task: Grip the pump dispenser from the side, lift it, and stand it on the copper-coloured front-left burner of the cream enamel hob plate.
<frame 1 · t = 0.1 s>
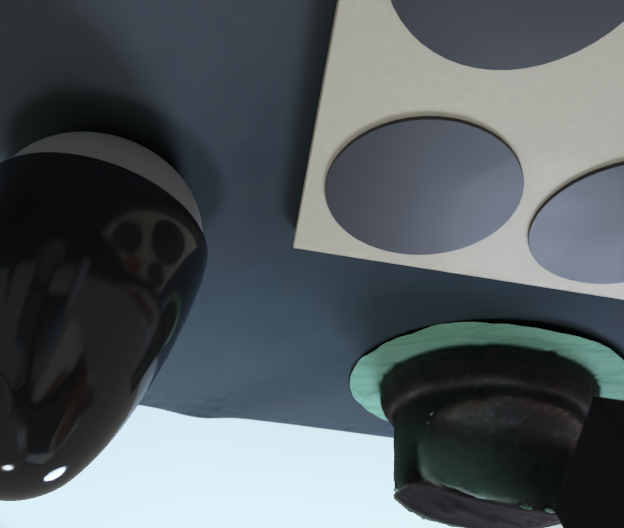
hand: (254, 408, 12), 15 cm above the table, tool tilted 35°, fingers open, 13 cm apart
hob plate: (582, 94, 23), on the table
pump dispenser: (119, 173, 29), on the table
black green hat: (483, 386, 44), on the table
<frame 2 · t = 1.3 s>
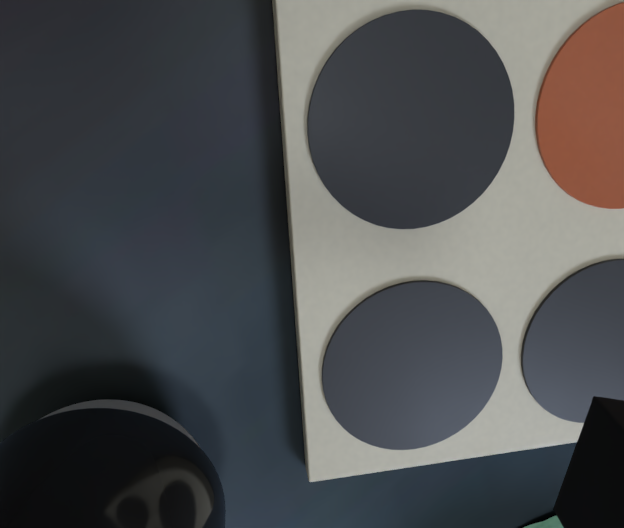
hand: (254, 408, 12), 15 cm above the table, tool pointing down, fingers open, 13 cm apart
hob plate: (504, 236, 27), on the table
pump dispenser: (114, 457, 28), on the table
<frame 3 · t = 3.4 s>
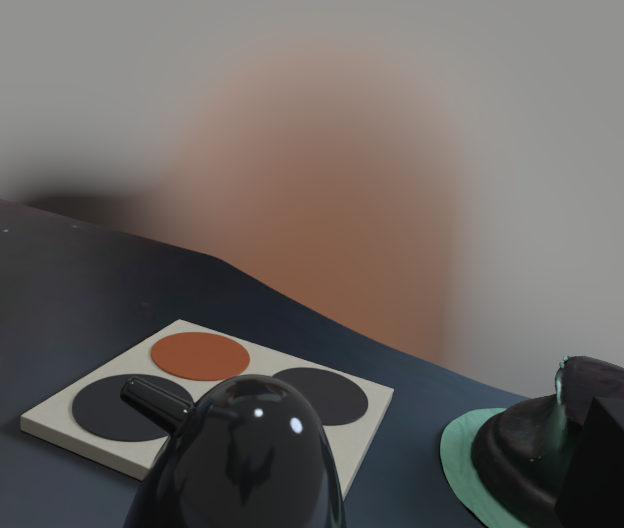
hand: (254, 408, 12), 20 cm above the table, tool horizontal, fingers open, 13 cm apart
hob plate: (229, 413, 47), on the table
black green hat: (569, 489, 45), on the table
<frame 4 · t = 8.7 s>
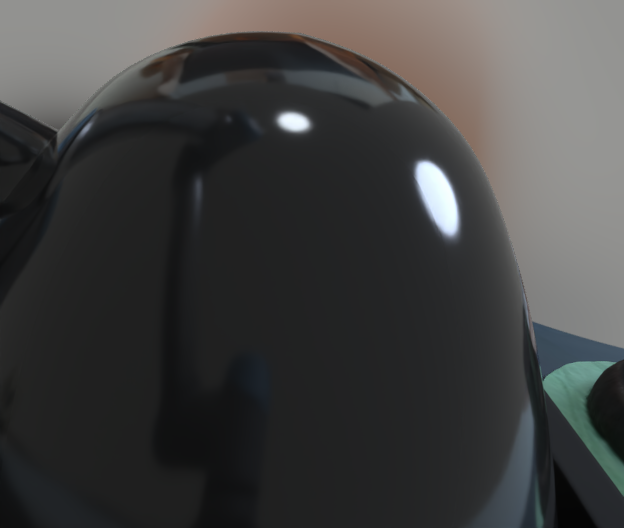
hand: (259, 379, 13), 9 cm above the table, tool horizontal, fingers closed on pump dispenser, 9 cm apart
when the fingers open (10 cm above the table, at t = 16.9 s): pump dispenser stays where it is, resting on hob plate.
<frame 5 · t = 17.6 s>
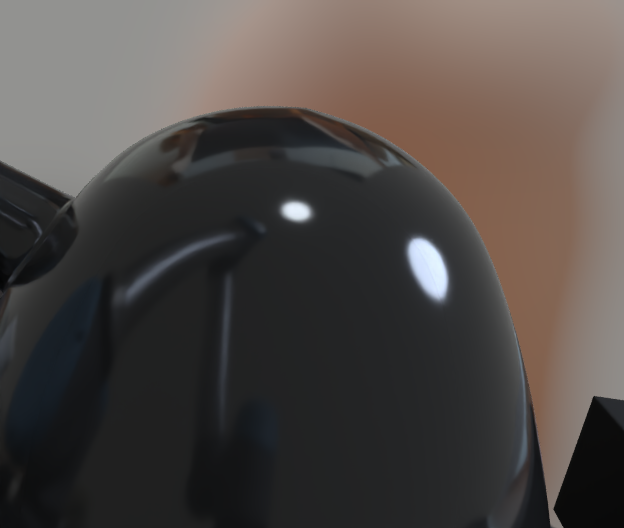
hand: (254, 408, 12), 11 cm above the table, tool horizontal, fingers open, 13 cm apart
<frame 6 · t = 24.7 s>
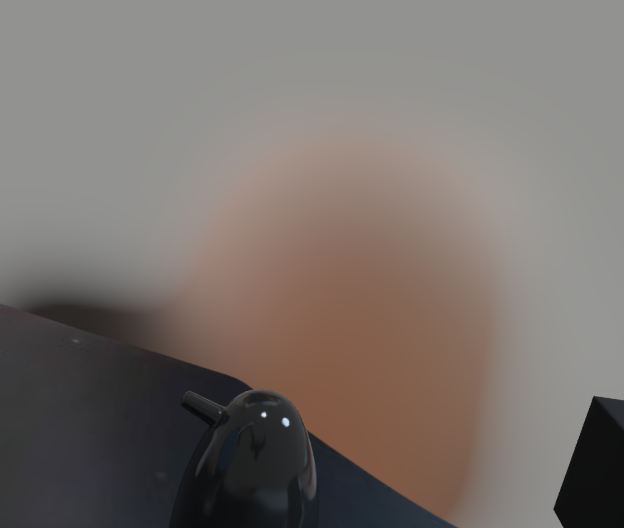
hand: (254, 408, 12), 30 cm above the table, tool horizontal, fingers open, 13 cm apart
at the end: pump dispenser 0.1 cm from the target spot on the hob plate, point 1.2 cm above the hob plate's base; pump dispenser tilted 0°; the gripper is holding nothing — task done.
